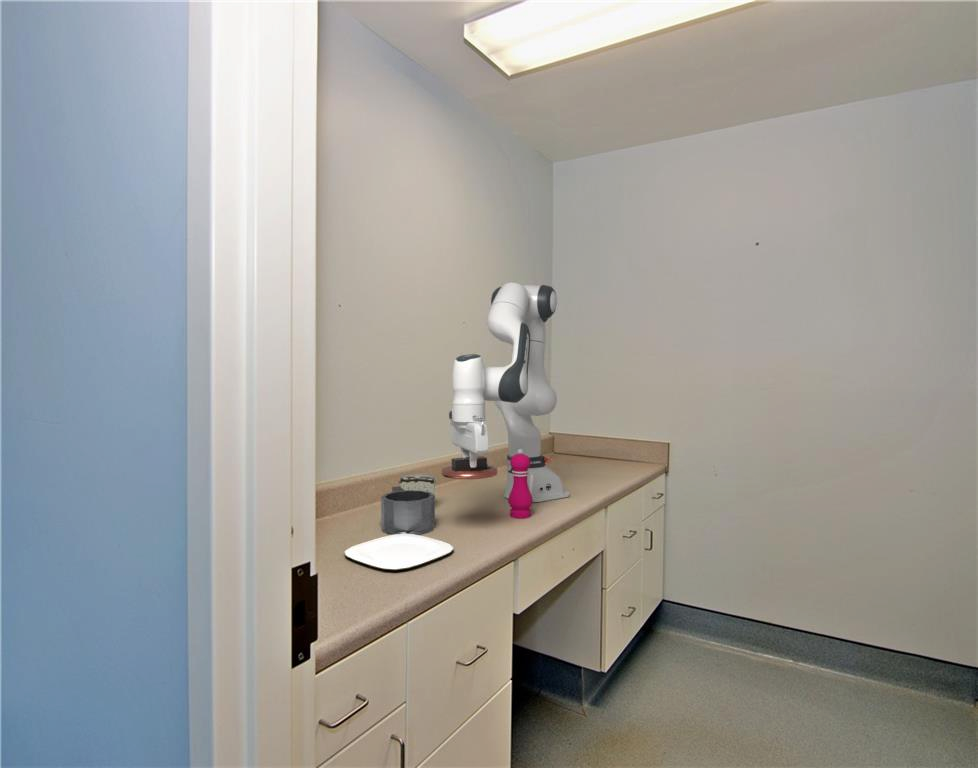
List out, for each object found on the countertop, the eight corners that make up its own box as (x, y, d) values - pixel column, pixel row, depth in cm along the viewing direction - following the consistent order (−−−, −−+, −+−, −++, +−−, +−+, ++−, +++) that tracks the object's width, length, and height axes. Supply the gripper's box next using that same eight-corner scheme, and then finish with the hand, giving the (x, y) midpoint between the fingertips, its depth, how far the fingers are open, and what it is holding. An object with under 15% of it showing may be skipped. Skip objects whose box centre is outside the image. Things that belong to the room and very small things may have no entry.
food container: (440, 505, 179) (440, 474, 178) (436, 510, 173) (436, 477, 172) (402, 504, 180) (402, 473, 180) (397, 509, 174) (397, 477, 174)
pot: (419, 512, 169) (418, 483, 169) (440, 532, 149) (440, 499, 148) (372, 517, 164) (372, 487, 164) (388, 538, 143) (387, 503, 143)
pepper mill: (515, 511, 170) (515, 446, 170) (536, 514, 166) (536, 448, 166) (503, 516, 164) (503, 449, 163) (525, 520, 160) (525, 451, 160)
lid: (485, 467, 160) (484, 452, 160) (505, 476, 146) (505, 460, 146) (434, 471, 155) (434, 456, 154) (451, 481, 141) (451, 464, 140)
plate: (403, 536, 147) (403, 530, 147) (464, 553, 133) (464, 546, 133) (333, 558, 130) (333, 551, 130) (394, 580, 116) (394, 572, 116)
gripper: (494, 417, 141) (495, 471, 142) (467, 411, 160) (467, 459, 161) (471, 418, 139) (471, 473, 140) (446, 412, 158) (447, 460, 158)
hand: (469, 465), depth 150 cm, fingers closed on lid, 3 cm apart
